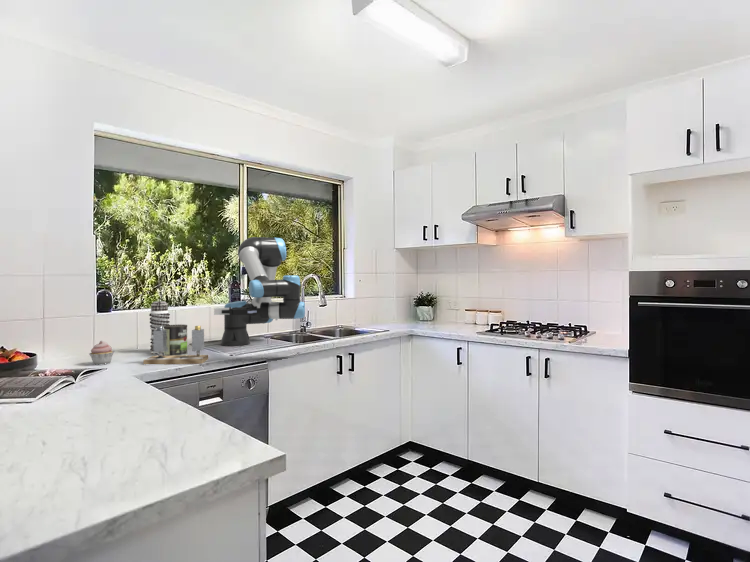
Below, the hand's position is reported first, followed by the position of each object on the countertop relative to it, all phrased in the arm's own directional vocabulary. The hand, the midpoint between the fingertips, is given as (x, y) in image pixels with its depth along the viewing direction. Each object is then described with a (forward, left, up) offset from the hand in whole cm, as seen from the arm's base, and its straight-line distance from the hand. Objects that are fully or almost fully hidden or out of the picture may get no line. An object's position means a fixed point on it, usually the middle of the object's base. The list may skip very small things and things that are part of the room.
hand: (215, 311), depth 196 cm
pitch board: (+12, -12, -22) cm, 28 cm away
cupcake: (+34, -34, -22) cm, 53 cm away
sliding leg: (+5, -5, -20) cm, 21 cm away
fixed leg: (+17, -17, -20) cm, 31 cm away
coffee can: (+4, -29, -22) cm, 37 cm away
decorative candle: (+5, -43, -22) cm, 48 cm away
